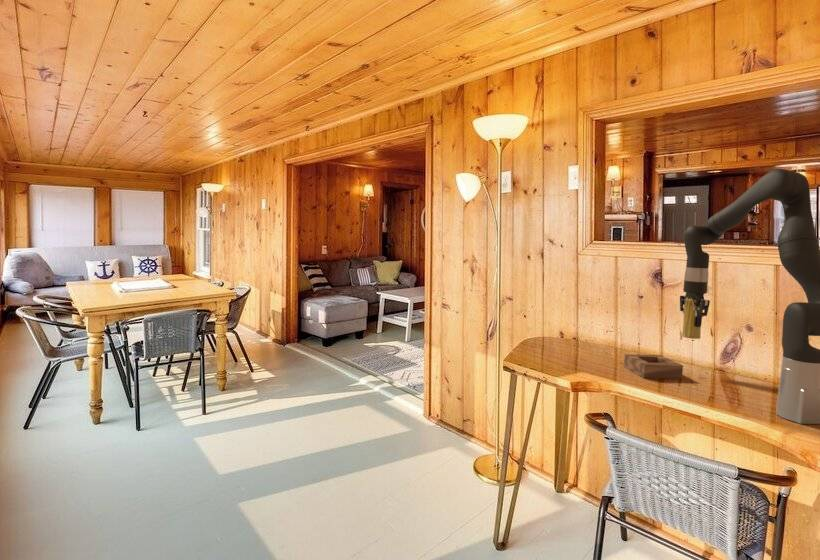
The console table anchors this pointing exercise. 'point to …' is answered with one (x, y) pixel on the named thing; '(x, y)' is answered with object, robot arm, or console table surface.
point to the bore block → (653, 366)
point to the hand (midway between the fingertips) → (691, 325)
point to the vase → (690, 322)
